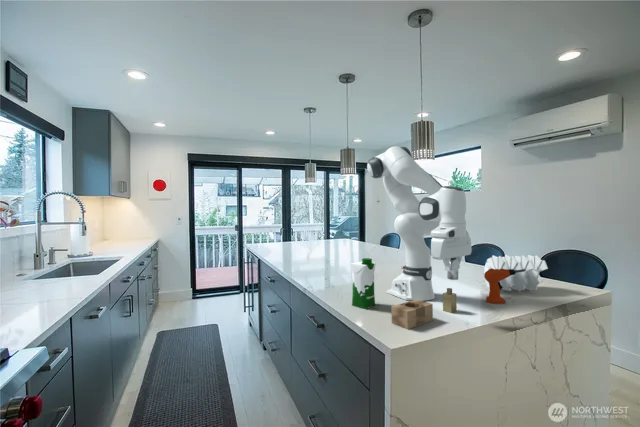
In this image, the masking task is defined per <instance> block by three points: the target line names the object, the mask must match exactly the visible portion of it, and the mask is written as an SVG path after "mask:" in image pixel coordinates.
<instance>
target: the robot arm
mask: <svg viewBox="0 0 640 427" xmlns="http://www.w3.org/2000/svg"><path fill="white" fill-rule="evenodd" d="M366 165H367V166H366V169H367V172H368V174H369V175H370V177H371V178H373V179H381V178H382V184H383V187H384V190H385V192H386V194H387V196H388V198H389V200H390V202H391V203H392V205H393V207H394V209H395V210H396V212H398V213H400V215H398V216H397V217H396V218H395V220H394V222H393V227H394V231H395V232H396V234H397V235H398V236H399V237H400V238H401V241H402V243H403V246H404V250H405V251H404V252H405V253H404V254H405V265H404V266H402V267H401V270H402V272H401V274H398V276H397V277H395V278H393V280H392V281H391V287H390V288H388V289H386V293H387V294H389V295H392V296H395V297H396V298H399V299H402V300H405V301H413V300H416V299H417V300H420V301H424V302H426V301H431V300H434V299H435V298H436V296H435V293H434V289H433V283H432V276H433V269H432V268H433V267H432V262H431V259H433V260H438V261H442V262H443V265H444V270H445V271H451V270H452V266H451V265H450V262H449V261H450V258H455V257H456V259H458V270H459V269H460V268H461V262H462V259H463V258H462V257H465V256H470V255H472V250H473V249H472V240H471V237H470V235H469V232H468V230H467V221H466V220H467V219H466V214H467V213H466V212H467V200H466V199H467V198H466V193H465V190H464V189H463V188H462V187H459V186H452V185H450V186H449V185H444V186H443V185H442V184H441V183H440V182H439V181H438V180H437V179H436V178H434V176H432V175H431V174H430V173H429V172H427V171H426V170H425V169H424V168H422V167H421V166H420V165H419V164H418V163H417V162H416V161H415V160H414V159H413V156H412V153H411V151H410V149H409V148H408V147H407V146H397V145H394V146H391V147H389V148H388V149H386V151H385V152H383V153H380V154H378V155H376V156H373V157H371V158H369V159H368V160H367V163H366ZM411 187H413V188H417V189H419V190H422V191H424V192H426V194H427V195H428V196H425V197H423V198H421V200H419V198H417V197H416V195H415V193H414V192H413V190H412V188H411ZM425 236H430V237H431V242H430V248H429V246H427V244H426V241H425V239H424V238H425ZM431 257H432V258H431Z"/></svg>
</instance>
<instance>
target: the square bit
mask: <svg viewBox="0 0 640 427" xmlns="http://www.w3.org/2000/svg"><path fill="white" fill-rule="evenodd" d="M457 309H458V308H457V293H454V292H453V288H451V287H447V288H446V292H443V293H442V311H443V312H446V313H449V314H453V313H456V312H457Z"/></svg>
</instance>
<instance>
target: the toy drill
mask: <svg viewBox="0 0 640 427" xmlns="http://www.w3.org/2000/svg"><path fill="white" fill-rule="evenodd" d="M523 271H525V269H521V270H513V269H508V270H507V269H502V268H501V269H492V268H491V269H489V270H488V271H486V272H485V274H483V279H484V278H485V279H486V280H487V281H488V282H489V287H490V288H489V293H488V296H486V298H485V301H486V303H488V304H505V303H506V302H507V301H506V299H505V298H504V297H502V296H501V290H503V289H502V288H503V287H502V286H501V284H500V282H499V281H501V280H503V279H505V278H507V277H509V276H511V275H515V274H516V273H518V272H523Z"/></svg>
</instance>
